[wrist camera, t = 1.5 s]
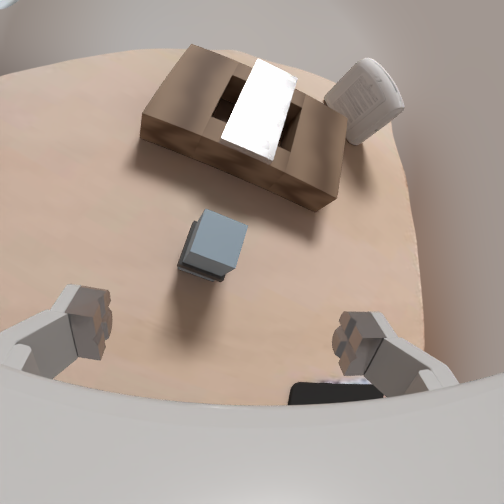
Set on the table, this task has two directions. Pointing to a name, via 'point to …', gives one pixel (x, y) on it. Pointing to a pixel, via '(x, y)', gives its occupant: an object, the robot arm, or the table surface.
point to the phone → (331, 393)
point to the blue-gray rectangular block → (212, 246)
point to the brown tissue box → (211, 129)
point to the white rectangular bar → (260, 112)
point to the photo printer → (365, 99)
